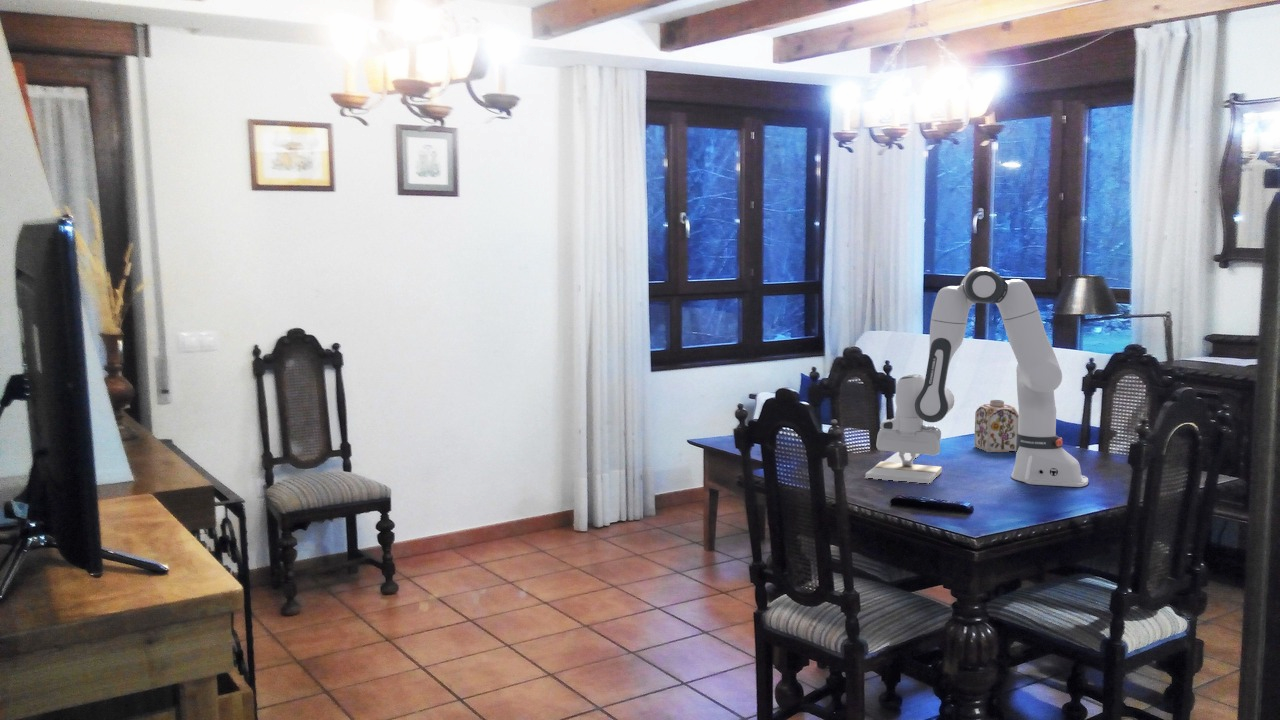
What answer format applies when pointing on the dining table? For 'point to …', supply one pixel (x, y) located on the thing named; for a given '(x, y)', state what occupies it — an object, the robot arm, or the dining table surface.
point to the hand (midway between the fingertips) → (907, 466)
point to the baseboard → (897, 459)
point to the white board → (900, 475)
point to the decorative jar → (996, 427)
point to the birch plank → (914, 467)
